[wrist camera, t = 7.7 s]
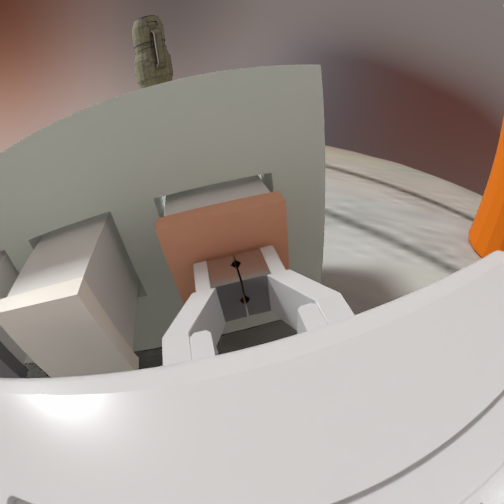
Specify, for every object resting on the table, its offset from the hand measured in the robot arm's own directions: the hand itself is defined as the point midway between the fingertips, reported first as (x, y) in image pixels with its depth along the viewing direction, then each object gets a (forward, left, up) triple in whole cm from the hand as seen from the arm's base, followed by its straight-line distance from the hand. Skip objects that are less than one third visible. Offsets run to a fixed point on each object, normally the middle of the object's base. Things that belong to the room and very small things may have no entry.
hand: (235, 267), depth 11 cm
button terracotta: (0, +4, -2) cm, 5 cm away
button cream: (-7, +2, -2) cm, 8 cm away
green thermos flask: (-7, +61, -7) cm, 62 cm away
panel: (-7, +6, -7) cm, 12 cm away
